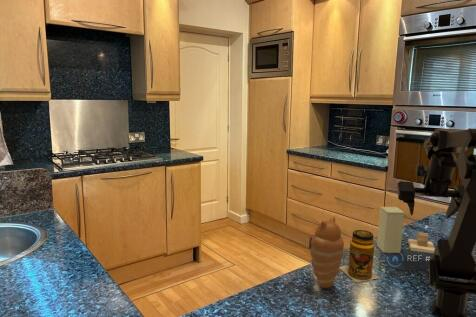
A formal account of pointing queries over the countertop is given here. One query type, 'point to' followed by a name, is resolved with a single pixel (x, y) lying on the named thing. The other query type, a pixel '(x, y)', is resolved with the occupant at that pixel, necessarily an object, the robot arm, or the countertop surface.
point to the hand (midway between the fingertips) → (428, 216)
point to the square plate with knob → (421, 244)
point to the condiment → (360, 257)
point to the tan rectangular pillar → (390, 229)
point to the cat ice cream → (327, 252)
